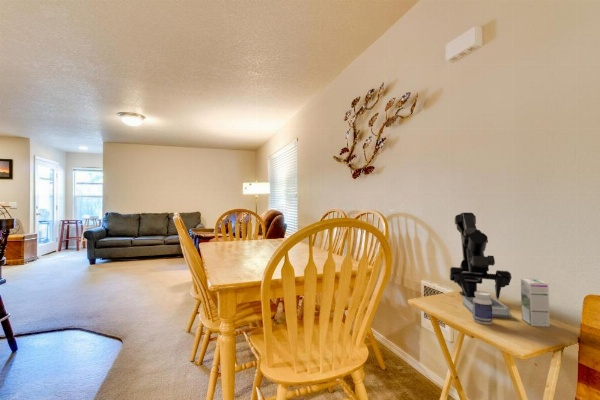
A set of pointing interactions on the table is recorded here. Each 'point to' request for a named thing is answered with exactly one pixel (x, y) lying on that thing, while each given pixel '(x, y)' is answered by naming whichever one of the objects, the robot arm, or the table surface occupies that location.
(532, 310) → the syrup box
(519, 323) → the table surface
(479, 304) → the pill bottle
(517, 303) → the table surface
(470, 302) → the tray
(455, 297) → the table surface
